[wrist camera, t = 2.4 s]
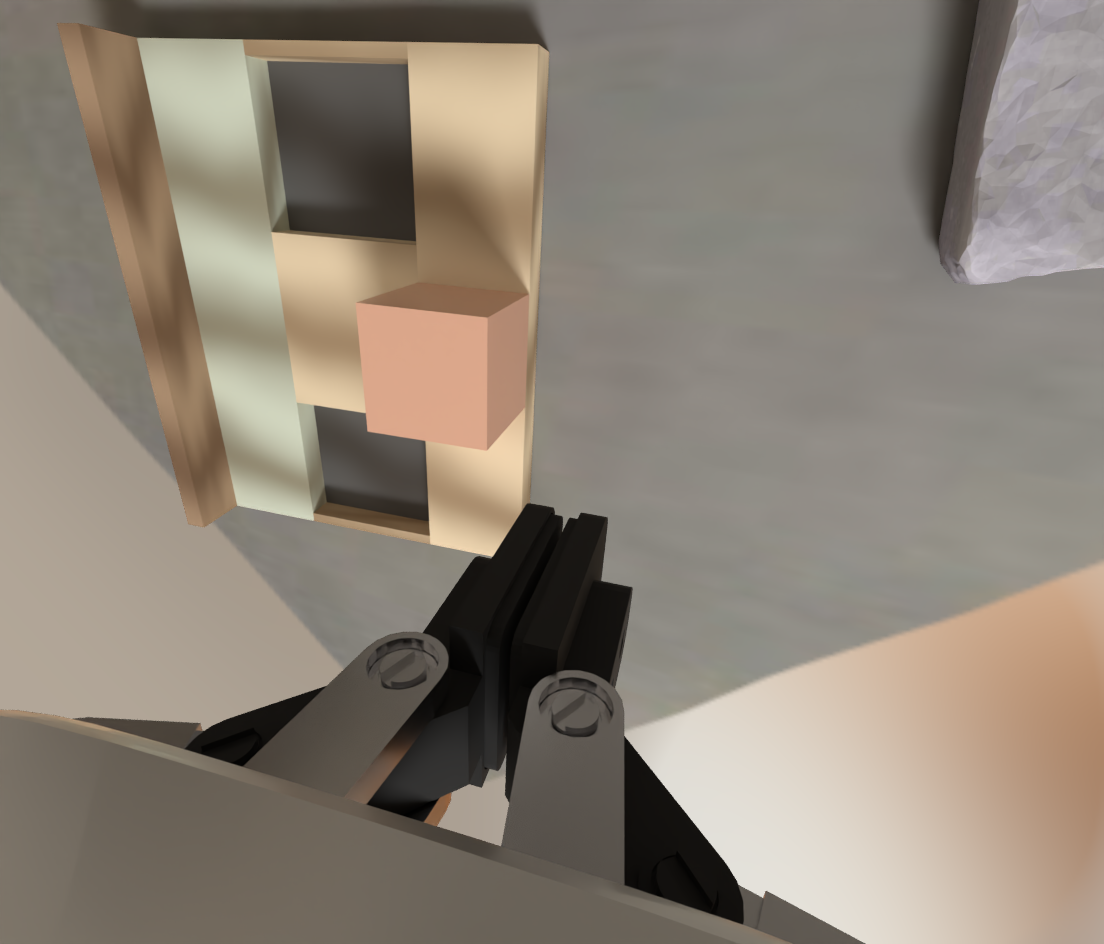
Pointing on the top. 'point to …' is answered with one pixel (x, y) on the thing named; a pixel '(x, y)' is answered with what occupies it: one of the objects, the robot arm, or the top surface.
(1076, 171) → the stone block
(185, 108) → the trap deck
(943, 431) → the top surface
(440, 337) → the terracotta block
